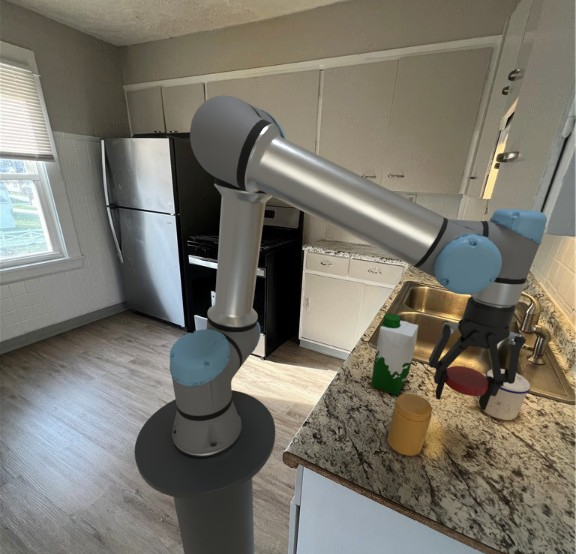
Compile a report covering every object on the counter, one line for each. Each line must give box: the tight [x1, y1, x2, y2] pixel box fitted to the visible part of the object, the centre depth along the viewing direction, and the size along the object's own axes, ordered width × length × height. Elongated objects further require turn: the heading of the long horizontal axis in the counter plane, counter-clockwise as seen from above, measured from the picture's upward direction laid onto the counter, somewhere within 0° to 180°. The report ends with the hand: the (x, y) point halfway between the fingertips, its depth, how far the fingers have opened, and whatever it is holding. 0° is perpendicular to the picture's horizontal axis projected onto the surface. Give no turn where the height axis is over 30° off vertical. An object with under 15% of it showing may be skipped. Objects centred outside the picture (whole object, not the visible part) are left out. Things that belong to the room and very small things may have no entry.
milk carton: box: [371, 313, 419, 396], centre depth 82 cm, size 9×9×20 cm
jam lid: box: [445, 365, 489, 397], centre depth 64 cm, size 8×8×2 cm
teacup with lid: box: [472, 368, 531, 421], centre depth 76 cm, size 12×9×12 cm
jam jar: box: [386, 393, 433, 457], centre depth 66 cm, size 7×7×11 cm
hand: (459, 400), depth 66 cm, fingers closed on jam lid, 8 cm apart
